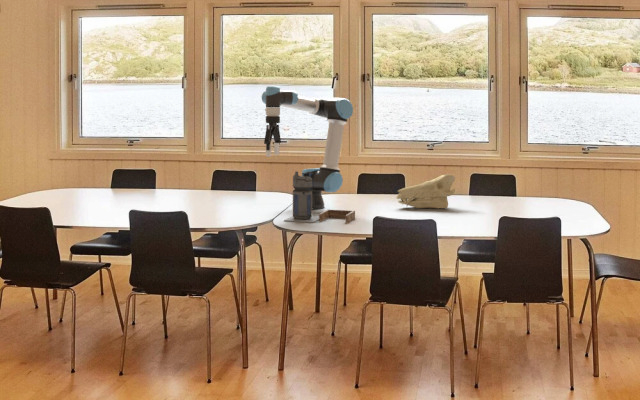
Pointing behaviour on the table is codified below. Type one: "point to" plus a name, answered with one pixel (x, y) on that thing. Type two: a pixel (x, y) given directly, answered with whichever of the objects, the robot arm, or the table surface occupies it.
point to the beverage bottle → (302, 196)
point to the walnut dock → (337, 215)
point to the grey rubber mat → (311, 220)
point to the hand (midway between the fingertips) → (272, 155)
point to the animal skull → (428, 193)
